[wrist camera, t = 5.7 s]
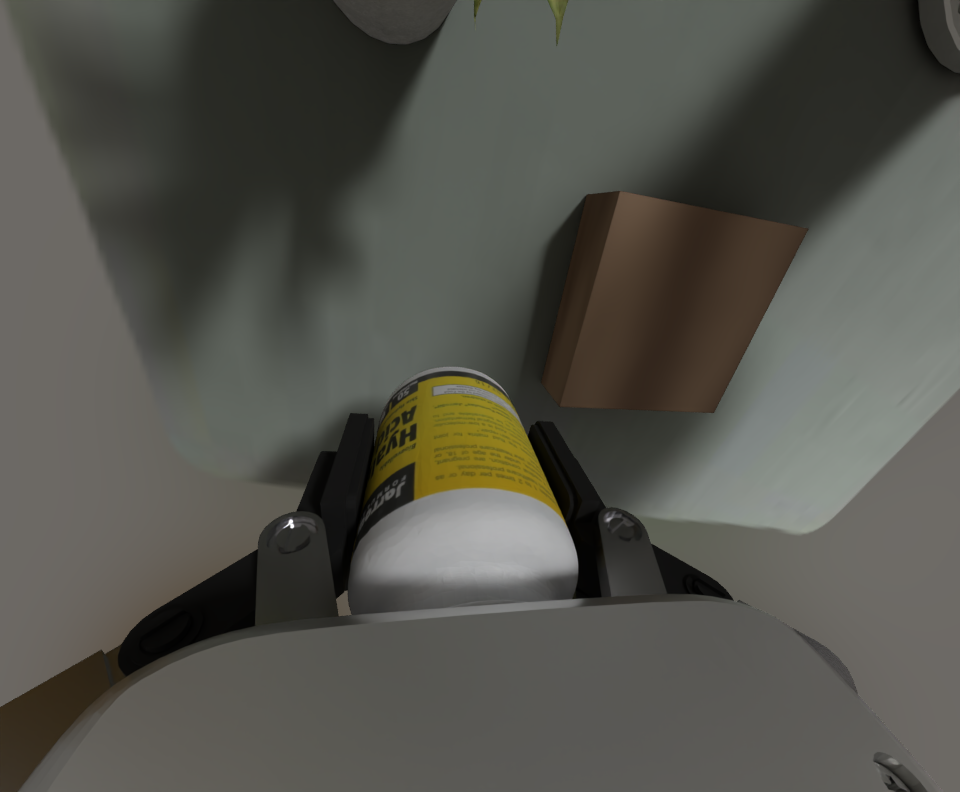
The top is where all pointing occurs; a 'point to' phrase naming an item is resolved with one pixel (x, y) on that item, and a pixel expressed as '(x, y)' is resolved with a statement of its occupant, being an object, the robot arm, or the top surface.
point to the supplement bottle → (456, 504)
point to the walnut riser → (661, 303)
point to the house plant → (412, 17)
